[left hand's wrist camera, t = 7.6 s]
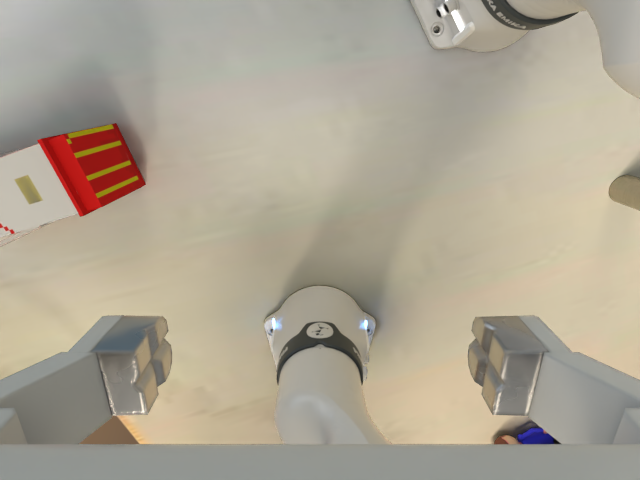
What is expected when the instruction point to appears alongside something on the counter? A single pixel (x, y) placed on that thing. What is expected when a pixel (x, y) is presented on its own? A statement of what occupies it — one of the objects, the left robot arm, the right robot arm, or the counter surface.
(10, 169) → the toy
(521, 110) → the counter surface
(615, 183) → the beige cylinder
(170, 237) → the counter surface
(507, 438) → the figurine character
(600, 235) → the counter surface
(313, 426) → the left robot arm
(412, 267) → the counter surface
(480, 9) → the right robot arm
